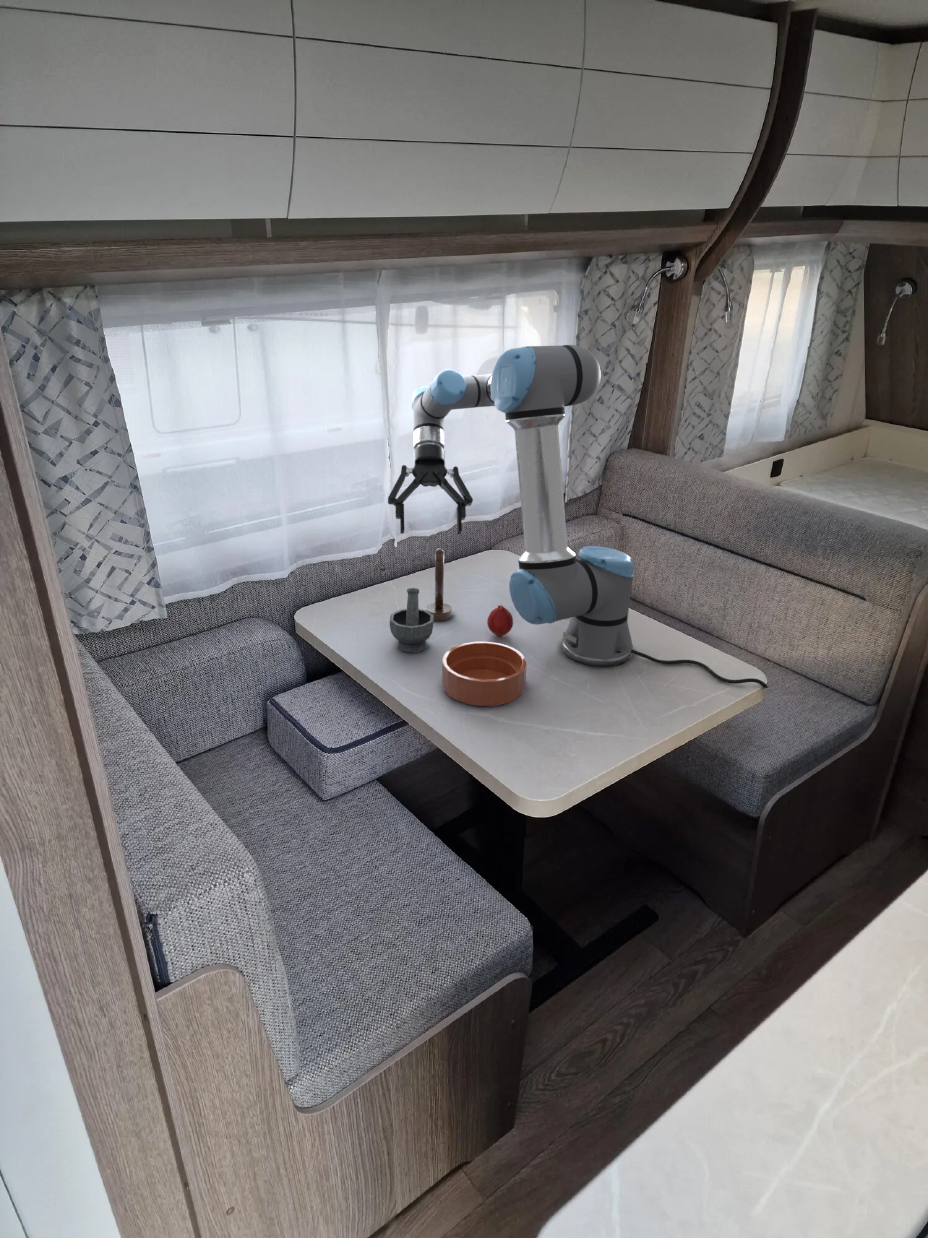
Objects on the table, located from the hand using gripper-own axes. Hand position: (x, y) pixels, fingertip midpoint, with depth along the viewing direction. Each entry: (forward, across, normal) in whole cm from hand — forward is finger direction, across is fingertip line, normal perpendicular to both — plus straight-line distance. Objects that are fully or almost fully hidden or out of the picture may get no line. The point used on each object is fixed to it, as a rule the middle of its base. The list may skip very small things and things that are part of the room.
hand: (431, 531), depth 193 cm
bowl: (+41, -8, +21) cm, 46 cm away
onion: (+26, -15, +4) cm, 30 cm away
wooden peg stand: (+19, -2, -6) cm, 20 cm away
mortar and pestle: (+29, +5, +5) cm, 30 cm away
